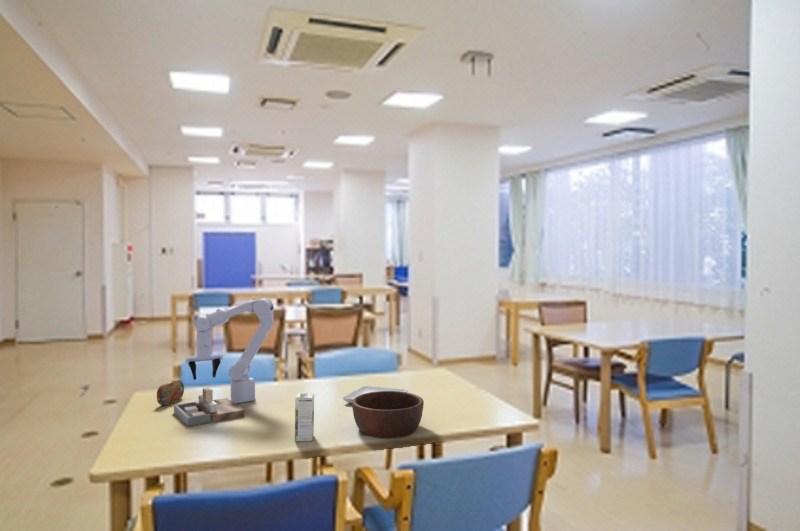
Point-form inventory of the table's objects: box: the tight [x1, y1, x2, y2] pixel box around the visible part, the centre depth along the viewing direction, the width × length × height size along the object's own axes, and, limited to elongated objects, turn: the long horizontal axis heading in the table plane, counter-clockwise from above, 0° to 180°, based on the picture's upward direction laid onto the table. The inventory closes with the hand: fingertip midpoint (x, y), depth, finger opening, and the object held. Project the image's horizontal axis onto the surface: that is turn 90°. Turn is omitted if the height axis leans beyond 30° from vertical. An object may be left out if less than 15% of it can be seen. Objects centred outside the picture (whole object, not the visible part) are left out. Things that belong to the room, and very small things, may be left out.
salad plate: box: [342, 385, 409, 404], centre depth 222 cm, size 21×21×3 cm
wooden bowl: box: [351, 391, 425, 439], centre depth 187 cm, size 25×25×10 cm
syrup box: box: [294, 392, 315, 442], centre depth 177 cm, size 6×6×14 cm
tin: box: [156, 379, 185, 406], centre depth 219 cm, size 15×3×8 cm, turn 168°
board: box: [196, 397, 245, 423], centre depth 205 cm, size 12×20×2 cm, turn 36°
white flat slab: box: [198, 387, 217, 413], centre depth 202 cm, size 2×16×7 cm, turn 36°
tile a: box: [184, 406, 198, 415], centre depth 203 cm, size 4×4×2 cm
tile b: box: [191, 411, 205, 417], centre depth 196 cm, size 4×4×2 cm
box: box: [173, 401, 212, 427], centre depth 199 cm, size 8×20×3 cm, turn 36°
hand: (204, 378), depth 221 cm, fingers open, 7 cm apart
